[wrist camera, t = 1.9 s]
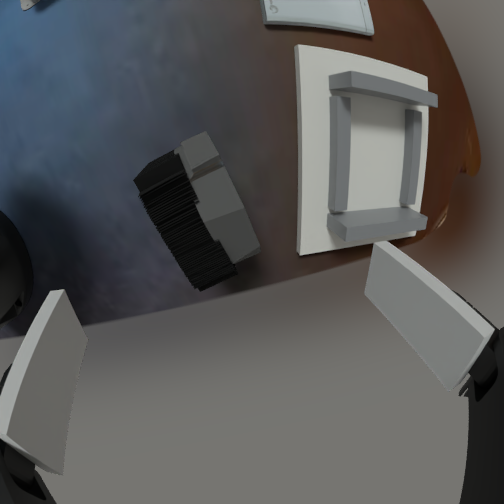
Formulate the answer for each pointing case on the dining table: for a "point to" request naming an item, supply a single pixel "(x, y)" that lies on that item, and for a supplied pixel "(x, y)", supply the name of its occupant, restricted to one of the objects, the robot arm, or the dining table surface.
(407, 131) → the housing
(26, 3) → the emergency button
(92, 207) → the dining table surface
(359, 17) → the hard drive
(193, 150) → the cpu cooler
